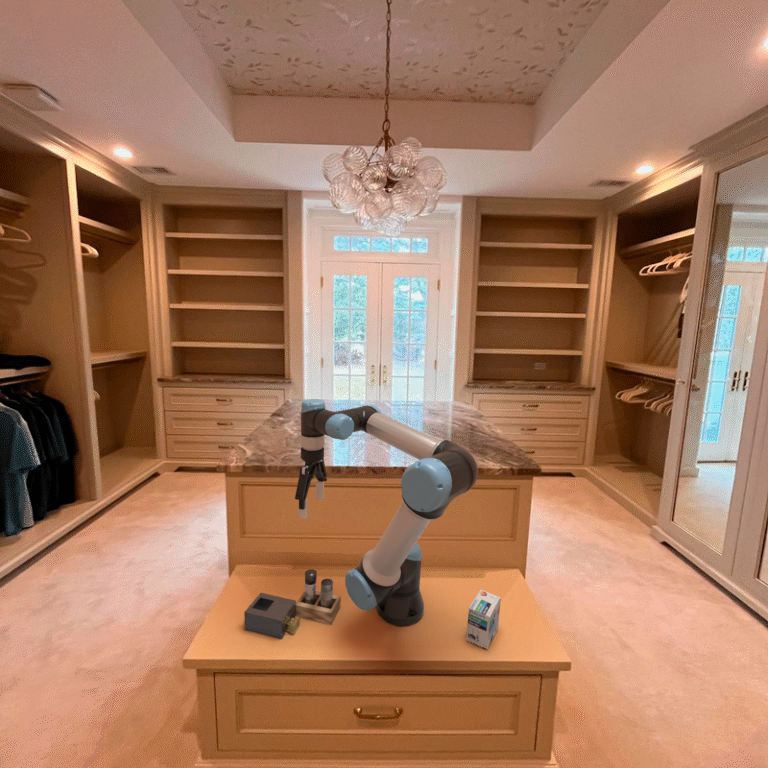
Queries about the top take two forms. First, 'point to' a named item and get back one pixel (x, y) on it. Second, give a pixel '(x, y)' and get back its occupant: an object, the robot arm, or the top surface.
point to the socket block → (269, 615)
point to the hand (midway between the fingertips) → (311, 508)
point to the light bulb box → (483, 618)
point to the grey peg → (310, 586)
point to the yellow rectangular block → (292, 624)
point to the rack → (320, 605)
